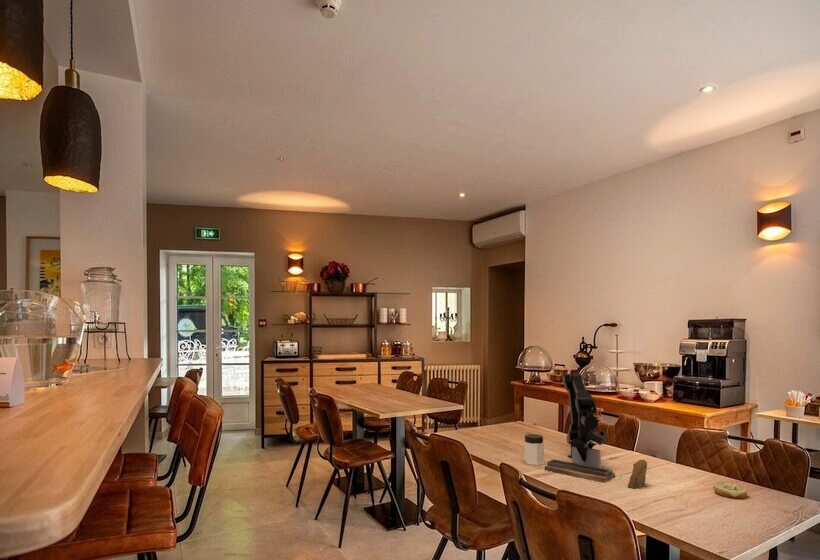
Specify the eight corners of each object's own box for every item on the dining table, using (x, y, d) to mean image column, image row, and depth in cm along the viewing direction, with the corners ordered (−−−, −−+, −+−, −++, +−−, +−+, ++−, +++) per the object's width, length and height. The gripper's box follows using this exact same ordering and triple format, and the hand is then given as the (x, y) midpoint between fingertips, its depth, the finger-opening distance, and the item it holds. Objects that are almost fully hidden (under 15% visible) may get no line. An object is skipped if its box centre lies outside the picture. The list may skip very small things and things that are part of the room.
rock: (635, 485, 196) (657, 479, 199) (623, 463, 202) (645, 458, 204) (622, 495, 204) (644, 489, 207) (611, 474, 210) (632, 468, 212)
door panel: (574, 463, 234) (574, 445, 235) (600, 468, 226) (600, 450, 227) (572, 464, 233) (571, 446, 233) (598, 470, 225) (598, 451, 225)
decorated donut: (739, 502, 185) (738, 491, 186) (708, 493, 194) (707, 483, 195) (752, 496, 191) (751, 485, 192) (721, 488, 200) (721, 478, 200)
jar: (534, 466, 229) (533, 438, 230) (520, 462, 236) (520, 435, 237) (548, 463, 234) (547, 436, 235) (534, 459, 241) (534, 433, 242)
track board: (556, 464, 232) (556, 458, 232) (614, 476, 215) (614, 469, 215) (544, 470, 224) (544, 463, 224) (604, 482, 206) (604, 474, 207)
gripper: (594, 430, 219) (595, 468, 217) (611, 424, 232) (612, 459, 231) (569, 426, 226) (570, 463, 225) (587, 420, 240) (588, 455, 239)
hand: (586, 460), depth 230 cm, fingers open, 3 cm apart
